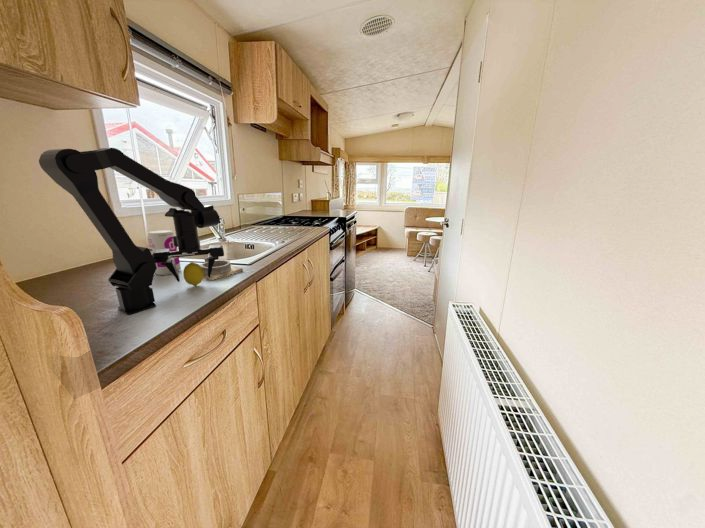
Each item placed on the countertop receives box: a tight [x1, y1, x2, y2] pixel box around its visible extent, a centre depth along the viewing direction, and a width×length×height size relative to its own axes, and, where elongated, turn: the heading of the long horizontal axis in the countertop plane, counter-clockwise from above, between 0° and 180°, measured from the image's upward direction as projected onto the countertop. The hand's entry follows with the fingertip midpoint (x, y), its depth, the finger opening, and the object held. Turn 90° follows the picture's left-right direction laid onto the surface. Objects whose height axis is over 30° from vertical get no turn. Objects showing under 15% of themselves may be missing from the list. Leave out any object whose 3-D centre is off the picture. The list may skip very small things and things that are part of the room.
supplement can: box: [146, 229, 182, 276], centre depth 99 cm, size 8×8×15 cm
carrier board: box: [199, 256, 244, 281], centre depth 102 cm, size 12×15×4 cm
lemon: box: [182, 261, 204, 287], centre depth 87 cm, size 6×6×8 cm
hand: (194, 279), depth 88 cm, fingers open, 8 cm apart
